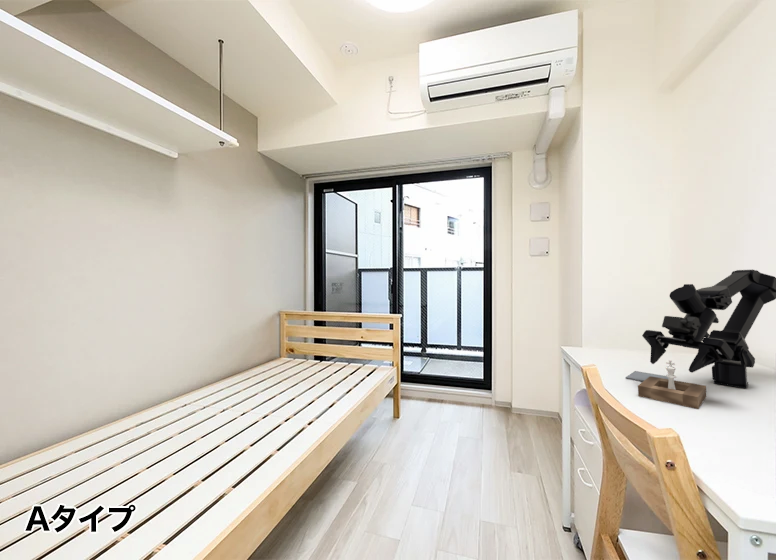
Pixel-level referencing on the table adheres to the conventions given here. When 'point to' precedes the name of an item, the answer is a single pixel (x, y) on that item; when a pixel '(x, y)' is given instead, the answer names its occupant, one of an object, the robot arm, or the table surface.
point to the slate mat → (643, 376)
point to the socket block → (673, 392)
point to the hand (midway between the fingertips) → (670, 367)
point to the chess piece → (670, 375)
